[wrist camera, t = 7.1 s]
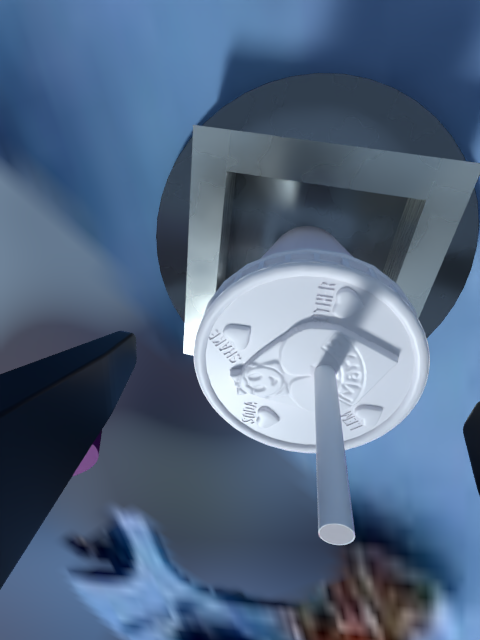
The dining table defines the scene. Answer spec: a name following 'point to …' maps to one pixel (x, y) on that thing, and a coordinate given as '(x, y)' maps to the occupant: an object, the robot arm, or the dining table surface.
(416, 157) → the disk with square socket
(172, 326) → the dining table surface
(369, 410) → the smoothie
